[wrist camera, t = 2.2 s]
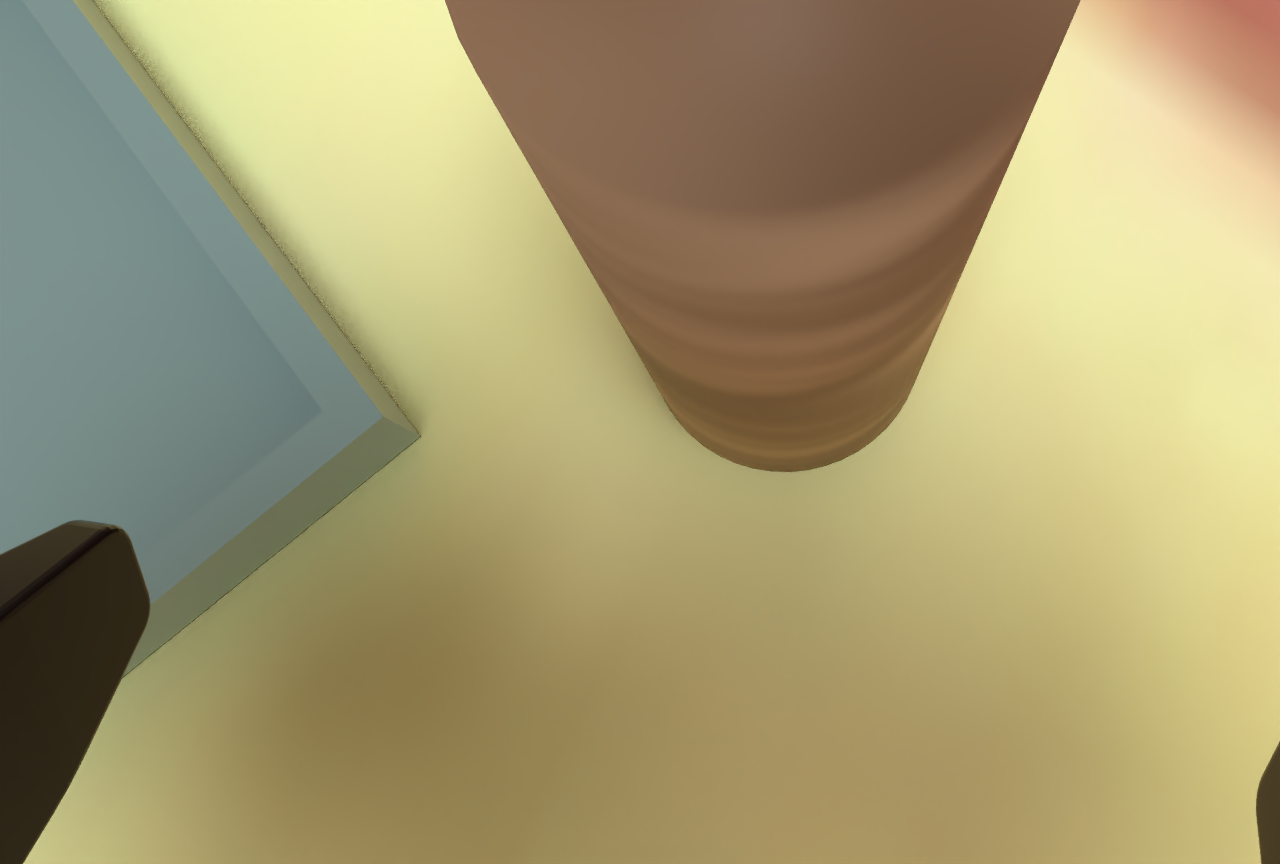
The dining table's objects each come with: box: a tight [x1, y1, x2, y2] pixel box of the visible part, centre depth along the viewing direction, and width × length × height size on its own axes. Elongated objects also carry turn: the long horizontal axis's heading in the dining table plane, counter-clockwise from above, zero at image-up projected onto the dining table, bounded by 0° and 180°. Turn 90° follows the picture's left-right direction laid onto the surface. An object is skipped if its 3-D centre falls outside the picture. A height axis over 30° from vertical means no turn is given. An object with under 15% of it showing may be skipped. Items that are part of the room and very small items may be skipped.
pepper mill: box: [445, 0, 1080, 472], centre depth 15 cm, size 5×5×13 cm
